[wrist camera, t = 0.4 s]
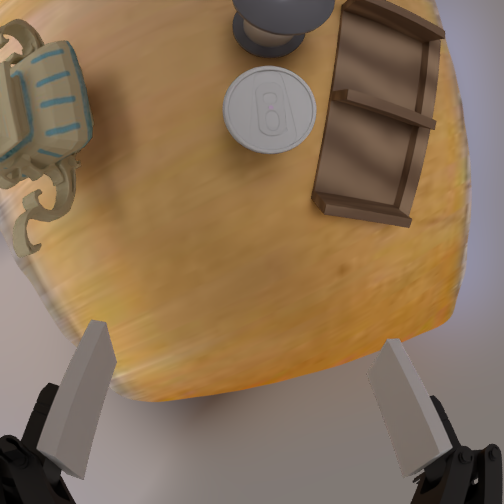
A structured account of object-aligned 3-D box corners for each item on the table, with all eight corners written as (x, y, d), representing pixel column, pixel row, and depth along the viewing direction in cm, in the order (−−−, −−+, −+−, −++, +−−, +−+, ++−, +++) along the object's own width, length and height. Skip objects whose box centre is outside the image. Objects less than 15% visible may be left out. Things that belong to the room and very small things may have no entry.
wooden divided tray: (341, 5, 24) (359, -10, 18) (430, 42, 25) (456, 37, 20) (311, 198, 36) (324, 214, 31) (399, 213, 38) (420, 230, 32)
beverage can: (231, 139, 32) (227, 160, 19) (225, 87, 29) (217, 68, 16) (286, 134, 32) (321, 152, 19) (281, 82, 29) (315, 63, 16)
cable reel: (238, -4, 23) (239, -49, 13) (307, 7, 24) (337, -31, 14) (228, 53, 27) (224, 25, 17) (299, 63, 28) (329, 43, 18)
